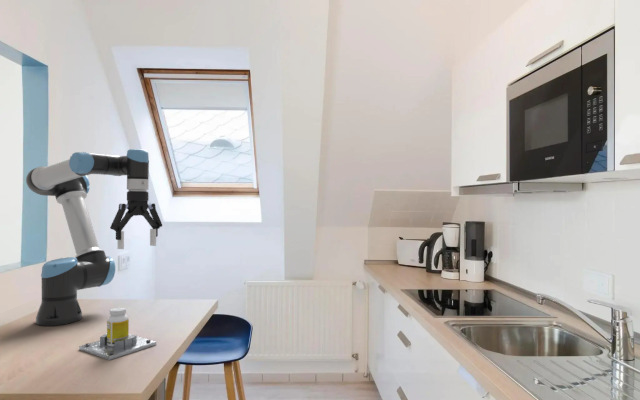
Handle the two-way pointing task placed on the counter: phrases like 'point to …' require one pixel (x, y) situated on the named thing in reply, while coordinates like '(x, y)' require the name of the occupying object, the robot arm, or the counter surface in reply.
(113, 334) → the pill bottle
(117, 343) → the collar
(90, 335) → the counter surface
